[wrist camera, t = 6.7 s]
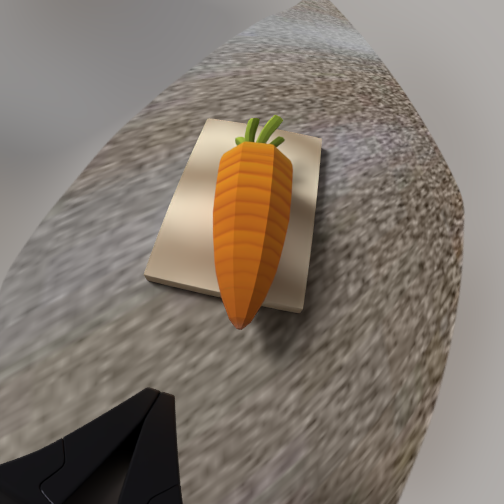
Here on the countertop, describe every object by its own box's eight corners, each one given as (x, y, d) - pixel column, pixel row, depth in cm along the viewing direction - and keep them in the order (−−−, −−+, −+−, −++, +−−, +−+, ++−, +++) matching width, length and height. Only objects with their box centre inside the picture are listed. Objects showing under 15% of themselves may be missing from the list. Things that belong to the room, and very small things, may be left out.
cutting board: (299, 313, 20) (302, 309, 19) (147, 280, 20) (143, 274, 19) (319, 146, 27) (321, 138, 26) (208, 126, 27) (207, 118, 26)
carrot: (180, 326, 17) (217, 132, 24) (260, 341, 19) (273, 154, 25) (208, 309, 13) (244, 87, 20) (308, 328, 15) (307, 115, 21)
